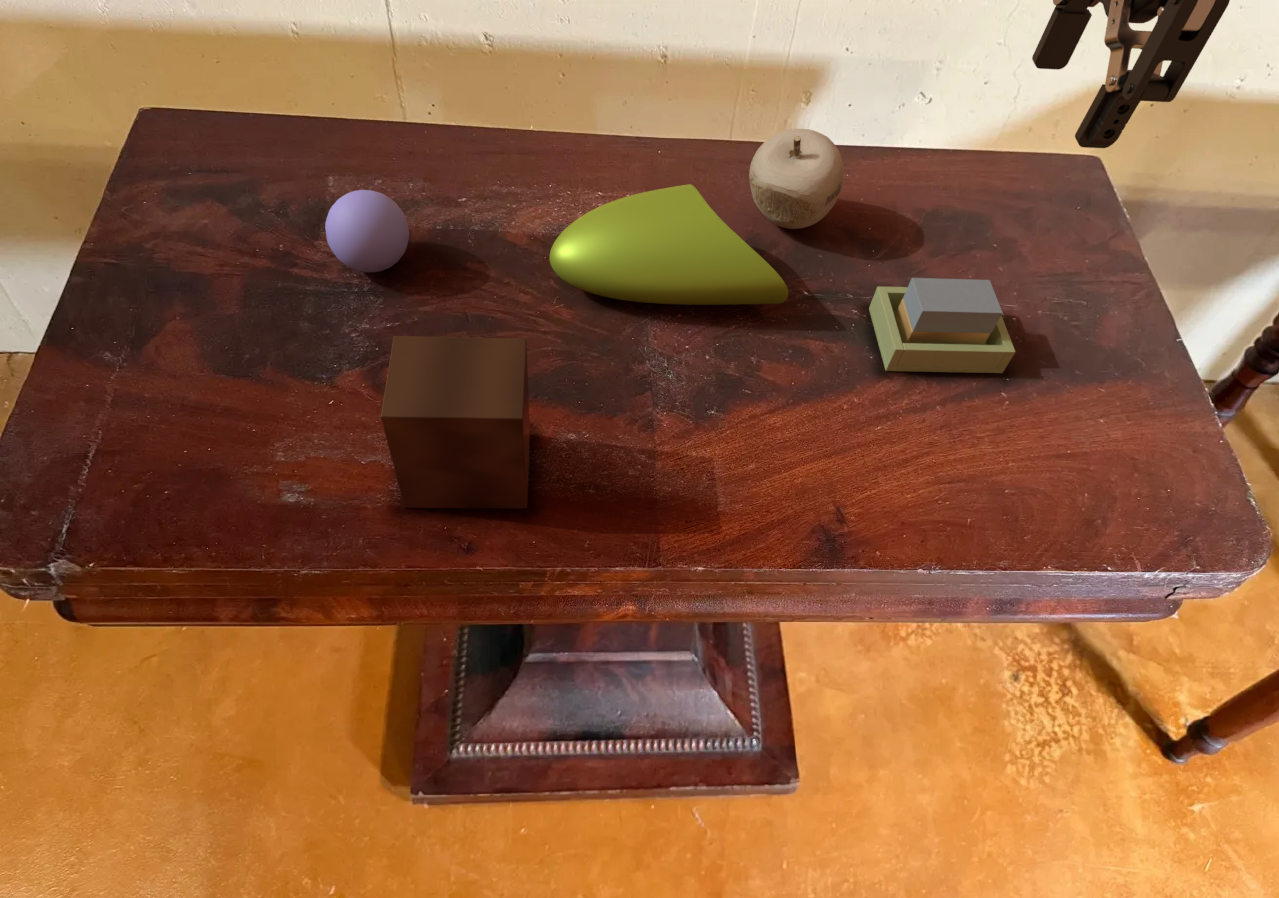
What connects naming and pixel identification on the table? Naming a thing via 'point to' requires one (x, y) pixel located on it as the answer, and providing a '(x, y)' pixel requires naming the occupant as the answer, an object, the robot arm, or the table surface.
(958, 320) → the rubber pad
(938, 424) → the table surface
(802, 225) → the decorative object
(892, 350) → the olive green tray
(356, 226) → the sphere
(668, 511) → the table surface
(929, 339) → the birch pad
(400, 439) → the stand
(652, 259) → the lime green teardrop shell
